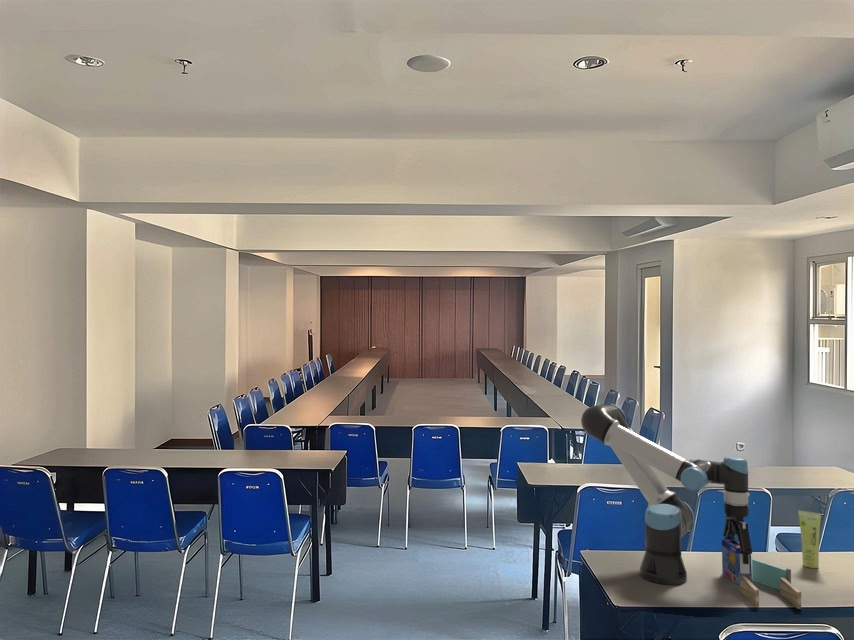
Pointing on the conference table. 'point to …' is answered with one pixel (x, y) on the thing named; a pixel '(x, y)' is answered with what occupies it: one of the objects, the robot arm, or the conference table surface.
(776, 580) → the gate
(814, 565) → the tube
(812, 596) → the conference table surface
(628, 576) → the conference table surface
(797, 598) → the pair of wooden planks
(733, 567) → the ink cartridge box
